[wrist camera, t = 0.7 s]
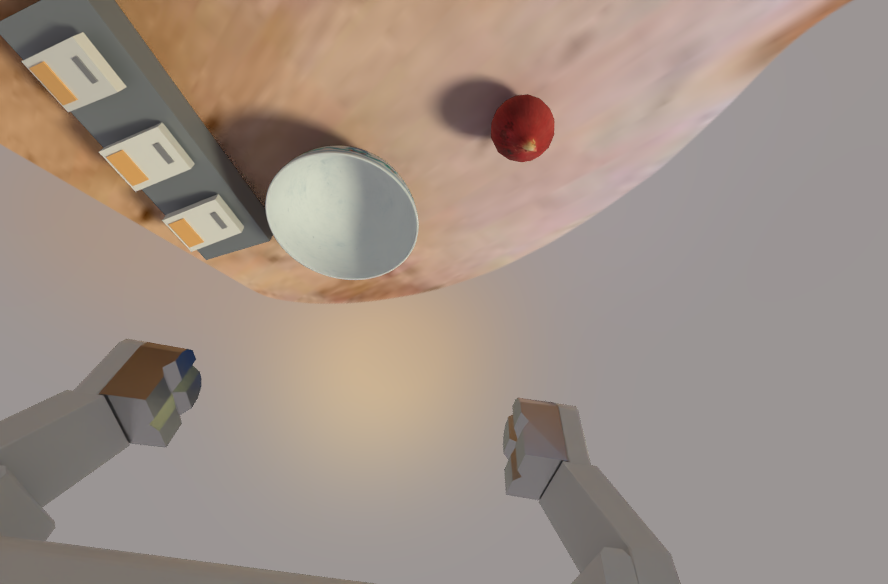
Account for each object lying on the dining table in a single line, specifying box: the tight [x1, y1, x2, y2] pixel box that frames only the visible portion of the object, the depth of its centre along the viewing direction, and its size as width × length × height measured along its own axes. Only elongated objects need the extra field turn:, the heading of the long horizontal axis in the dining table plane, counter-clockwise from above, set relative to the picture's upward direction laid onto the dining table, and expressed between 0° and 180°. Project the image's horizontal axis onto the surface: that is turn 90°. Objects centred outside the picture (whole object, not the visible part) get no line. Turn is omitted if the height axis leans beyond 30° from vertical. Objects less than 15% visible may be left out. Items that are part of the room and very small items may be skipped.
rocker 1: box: [21, 32, 126, 112], centre depth 37 cm, size 4×6×2 cm
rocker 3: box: [162, 194, 244, 252], centre depth 47 cm, size 4×6×2 cm
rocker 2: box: [99, 123, 195, 192], centre depth 42 cm, size 4×6×2 cm
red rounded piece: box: [491, 94, 554, 162], centre depth 40 cm, size 6×6×8 cm
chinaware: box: [265, 146, 418, 280], centre depth 46 cm, size 15×15×8 cm
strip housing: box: [0, 0, 273, 260], centre depth 44 cm, size 26×9×3 cm, turn 19°
